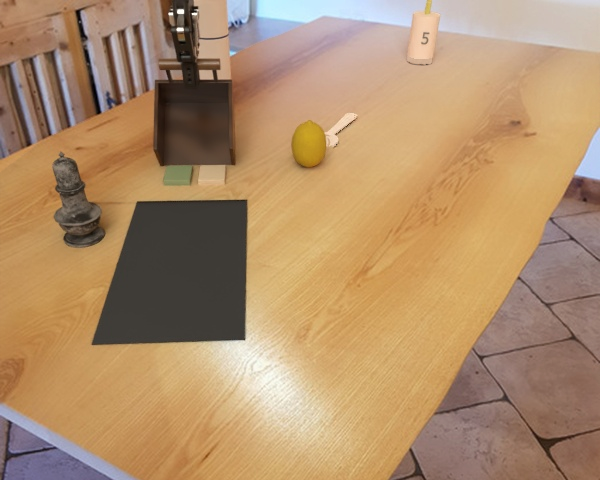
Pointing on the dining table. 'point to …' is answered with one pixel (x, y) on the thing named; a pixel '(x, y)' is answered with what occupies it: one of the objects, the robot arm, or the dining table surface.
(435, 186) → the dining table surface
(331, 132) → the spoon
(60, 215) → the salt shaker
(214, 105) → the basket
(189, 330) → the mat
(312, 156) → the lemon
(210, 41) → the cylindrical container
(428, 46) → the candle
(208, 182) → the block
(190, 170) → the block
